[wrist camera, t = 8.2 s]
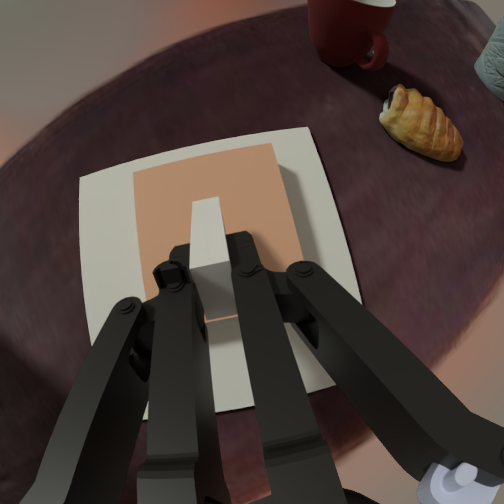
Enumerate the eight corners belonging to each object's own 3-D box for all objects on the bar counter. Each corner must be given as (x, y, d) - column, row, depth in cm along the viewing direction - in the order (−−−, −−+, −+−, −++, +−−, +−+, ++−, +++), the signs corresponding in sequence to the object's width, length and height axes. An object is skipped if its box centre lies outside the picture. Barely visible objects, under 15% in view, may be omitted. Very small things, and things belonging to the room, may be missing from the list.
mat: (113, 418, 18) (110, 420, 17) (83, 180, 22) (79, 177, 22) (372, 370, 19) (375, 371, 19) (306, 130, 23) (307, 126, 23)
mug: (396, 88, 25) (433, 24, 15) (342, 104, 24) (374, 24, 15) (339, 33, 27) (356, -29, 17) (284, 43, 26) (293, -29, 16)
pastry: (455, 134, 24) (472, 116, 21) (452, 180, 23) (473, 164, 19) (383, 92, 25) (396, 69, 22) (372, 134, 24) (387, 110, 20)
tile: (151, 331, 17) (132, 172, 19) (162, 330, 19) (143, 186, 21) (313, 299, 17) (271, 142, 20) (305, 301, 20) (269, 159, 22)
